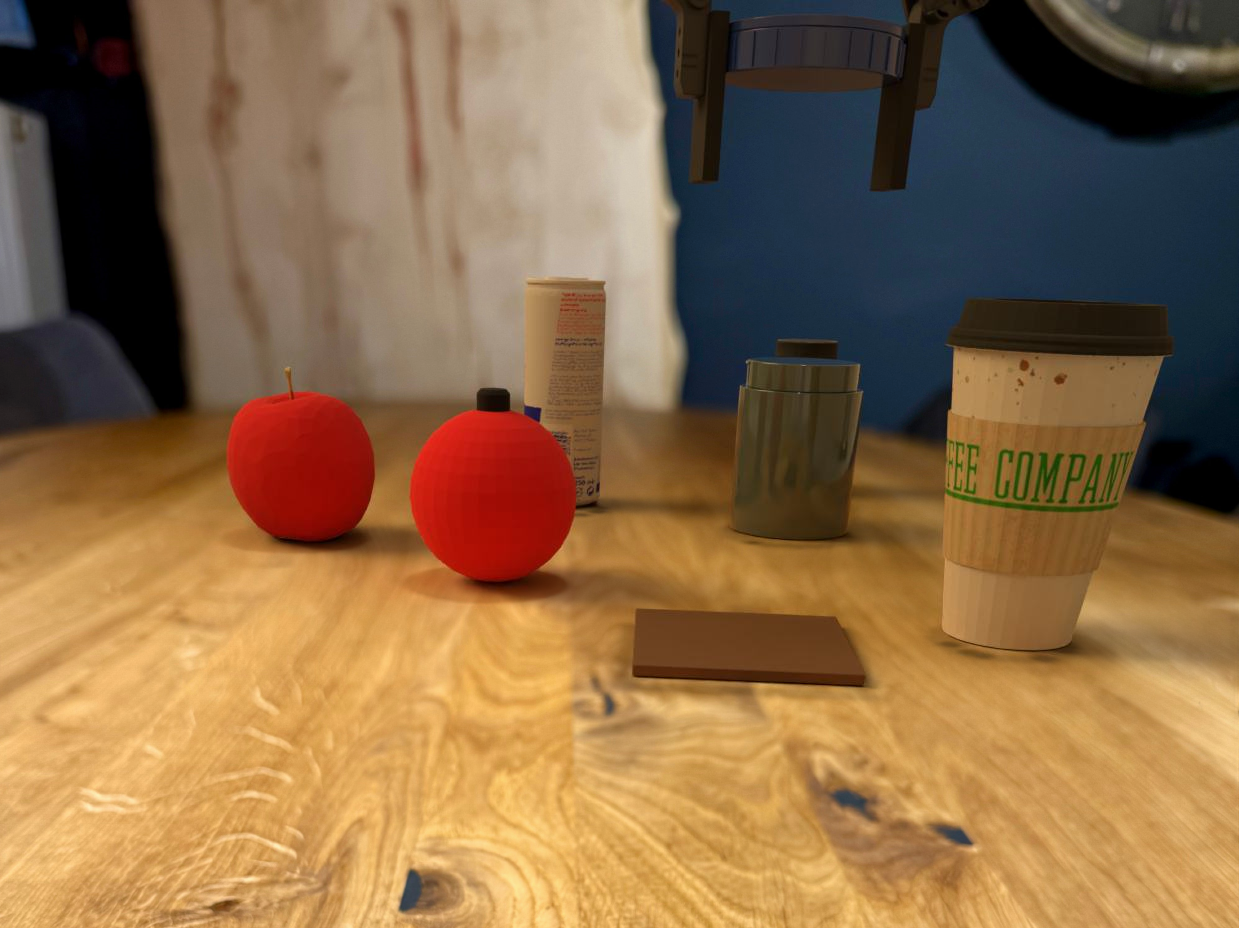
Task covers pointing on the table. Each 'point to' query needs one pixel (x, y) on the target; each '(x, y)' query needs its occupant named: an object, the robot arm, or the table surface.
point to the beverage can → (567, 370)
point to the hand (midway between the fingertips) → (796, 185)
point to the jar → (796, 448)
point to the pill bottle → (807, 348)
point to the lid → (814, 53)
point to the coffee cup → (1039, 458)
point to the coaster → (743, 647)
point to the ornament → (493, 492)
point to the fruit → (301, 465)
